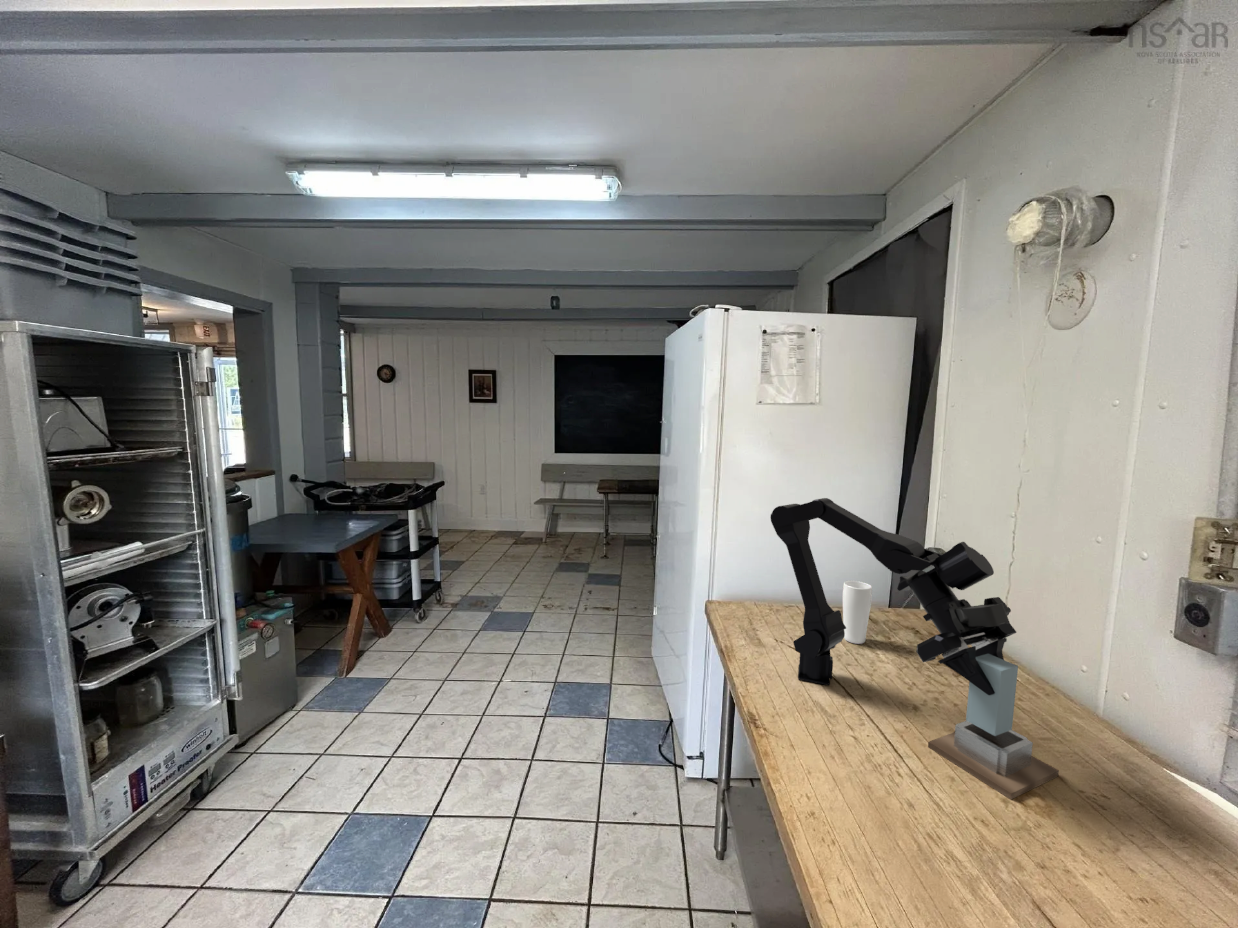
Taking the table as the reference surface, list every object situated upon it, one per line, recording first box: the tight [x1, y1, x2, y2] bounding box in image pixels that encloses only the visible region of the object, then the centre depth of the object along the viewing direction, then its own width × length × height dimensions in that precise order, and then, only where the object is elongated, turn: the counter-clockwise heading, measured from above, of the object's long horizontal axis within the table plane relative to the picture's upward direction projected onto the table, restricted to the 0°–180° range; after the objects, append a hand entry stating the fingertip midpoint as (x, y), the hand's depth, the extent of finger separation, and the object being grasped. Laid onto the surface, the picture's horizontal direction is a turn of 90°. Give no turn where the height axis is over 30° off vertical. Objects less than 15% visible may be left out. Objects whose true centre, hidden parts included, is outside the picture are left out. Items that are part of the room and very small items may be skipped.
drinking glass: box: [842, 580, 873, 645], centre depth 128 cm, size 7×7×15 cm
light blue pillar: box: [965, 654, 1019, 736], centre depth 82 cm, size 4×4×11 cm
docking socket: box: [927, 720, 1060, 800], centre depth 83 cm, size 13×13×5 cm
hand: (1001, 691), depth 80 cm, fingers closed on light blue pillar, 4 cm apart
